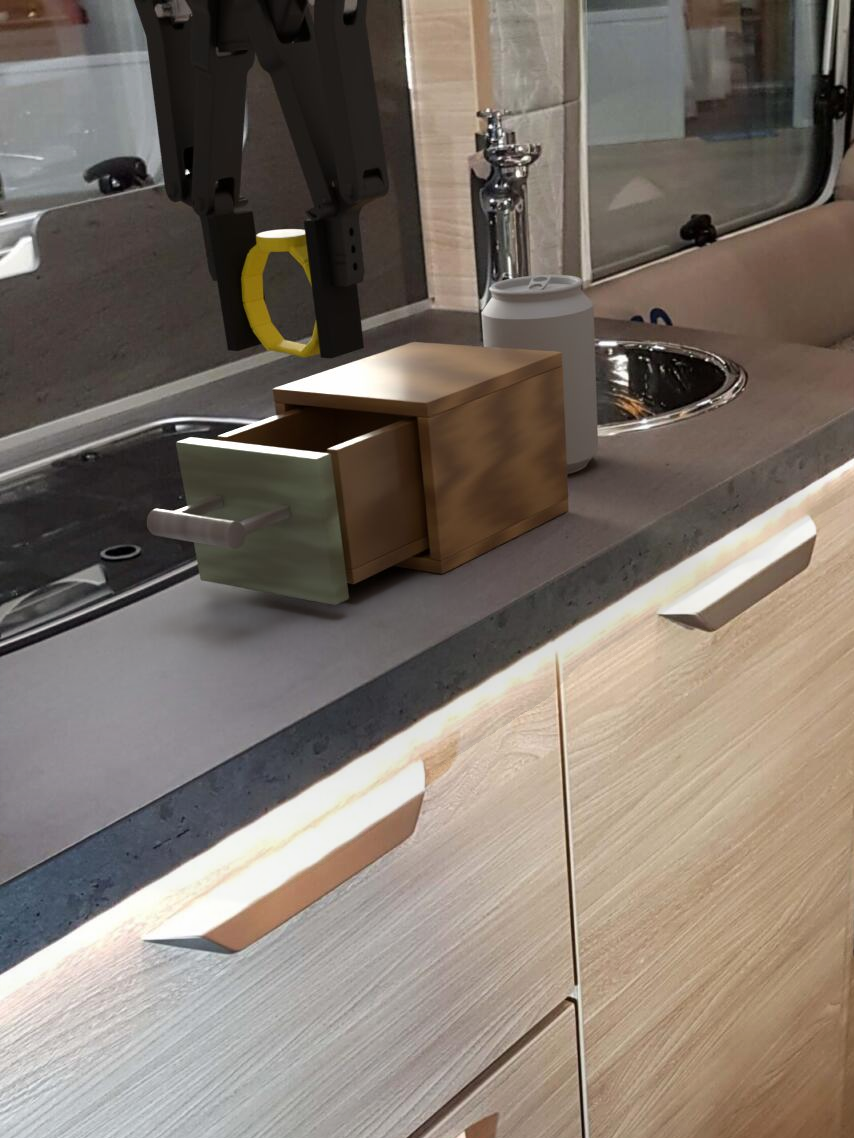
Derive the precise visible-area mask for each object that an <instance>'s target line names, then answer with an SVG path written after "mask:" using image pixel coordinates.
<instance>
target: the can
mask: <svg viewBox="0 0 854 1138" xmlns="http://www.w3.org/2000/svg"><path fill="white" fill-rule="evenodd" d="M582 285H584V280H583V279H582V278H580V276H579V277H578V276H574V275H567V274H541V275H528V276H527V275H526V276H520V277H512V278H508V279H504V280H499V281H497V282H494V283H492V284H491V285H490V286H489V289H488V290H489V291H490V293H491V297H490V299H489V301H488V302H487V303H486V305H485V307H484V308H483V309H482V310H481V325H482V340H483V342H482V343H483V347H495V348H510V349H525V350H540V351H555V352H562V366H563V387H564V410H565V433H566V456H567V475H570V474H573V473H576V472H577V473H578V472H579V471H582V470H583V469H585V468H586V467H587V465H588V463H589V462H590V461H591V460H592V459H594V457H595V456H596V455H597V453H598V451H599V431H598V430H599V429H598V403H597V401H598V400H597V399H598V398H597V373H596V371H597V370H596V342H595V341H596V340H595V311H594V309H595V308H594V307H595V306H594V303H593V301H592V300H591V299H590V298H589V297H588V296H587V295H586V294H585V292H584V291H583V290H582Z"/></svg>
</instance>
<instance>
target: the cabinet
mask: <svg viewBox="0 0 854 1138" xmlns="http://www.w3.org/2000/svg"><path fill="white" fill-rule="evenodd" d="M272 395H273V402H274V408H275V416H276V415H279V414H281V413H284V412H287V411H290V410H293V409H296V408H299V407H301V406H314V407H324V408H334V409H345V410H355V411H365V412H375V413H385V414H395V415H405V416H415V417H417V419H418V430H419V440H420V451H421V461H422V472H423V482H424V493H425V504H426V514H427V525H428V535H429V546H430V548H429V549H426V550H424V551H422V552H420V553H418V554H416V555H414V556H412V557H410V558H408V559H406V560H404V561H401V562H399V563H397V564H395V565H393V566H392V567H397V568H403V569H408V570H414V571H422V572H426V573H433V574H440V575H443V574H446V573H447V572H449V571H451V570H453V569H455V568H457V567H459V566H461V565H463V564H465V563H467V562H469V561H471V560H473V559H475V558H477V557H480V556H481V555H483V554H485V553H487V552H490V551H491V550H493V549H496V548H497V547H499V546H501V545H503V544H505V543H507V542H509V541H511V540H513V539H515V538H517V537H519V536H521V535H523V534H525V533H527V532H529V531H531V530H533V529H535V528H537V527H539V526H541V525H543V524H545V523H547V522H549V521H551V520H553V519H555V518H557V517H559V516H561V515H563V514H565V513H567V512H569V511H570V508H569V483H568V482H569V481H568V479H569V478H568V474H567V456H566V433H565V410H564V387H563V366H562V352H555V351H540V350H525V349H510V348H495V347H484V346H481V345H480V346H477V345H467V344H466V345H465V344H464V345H463V344H447V343H437V342H435V343H433V342H418V341H412V342H409V343H406V344H403V345H400V346H397V347H394V348H390V349H388V350H384V351H381V352H379V353H376V354H373V355H369V356H367V357H363V358H361V359H358V360H354V361H352V362H349V363H346V364H342V365H340V366H337V367H333V368H330V369H328V370H325V371H322V372H319V373H315V374H313V375H310V376H307V377H303V378H300V379H298V380H297V379H296V380H294V381H292V382H289V383H286V384H283V385H280V386H276V387H274V388H272Z"/></svg>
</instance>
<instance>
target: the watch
mask: <svg viewBox="0 0 854 1138" xmlns="http://www.w3.org/2000/svg"><path fill="white" fill-rule="evenodd" d="M256 242H257V244H256V245H255V246H254V247H253V248H252V249H251V250H249V253H248V254H247V257H246V261H245V264H244V267H243V270H242V276H241V283H242V301H243V302H244V303H243V306H244V309H245V312H246V315H247V317H248V320H249V323H250V326H251V328H252V329H253V332H254V333H255V335H256V336H257V337H258V339H259V340H260V342H261V343H262V344H261V345H262V346H263V347H264V348H265V350H266V351H268V352H269V351H272V352H276V353H279V354H280V353H283V354H287V355H291V356H296V357H299V358H300V357H301V358H303V359H304V358H305V359H306V358H309V357H313V356H317V355H320V348H319V340H318V332H317V324H316V321H315V323H314V326H313V327H314V328H313V331H312V336H311V338H310V340H309V341H308V342H307V344H304V343H300V342H296V341H292V340H287V339H285V338H284V337H283V336H282V334H281V333H280V332H279V330H278V329H277V327H276V326H275V325H274V324H273V322H272V320H271V316H270V313H269V311H268V307H267V303H266V304H265V302H266V300H265V301H264V299H263V288H264V280H263V277H264V275H263V274H264V270H265V267H266V264H267V261H268V258H269V255H270V254H271V253H282V252H283V253H284V252H288V253H289V254H290V255H291V256H292V257H293V258H294V259H295V260H296V261H297V262H298V263H299V265H301V266H302V268H303V270H304V272H305V274H306V277H307V279H308V282H309V284H310V287H312V284H311V276H310V268H309V260H308V252H307V244H306V236H305V229H301V228H299V229H297V228H285V229H272V230H266V231H262V232H258V233H256Z"/></svg>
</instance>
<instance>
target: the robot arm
mask: <svg viewBox="0 0 854 1138" xmlns="http://www.w3.org/2000/svg"><path fill="white" fill-rule="evenodd" d="M133 2H134V4H135V9H136V11H137V14H138V17H139V20H140V23H141V27H142V28H143V32H144V35H145V39H146V46H147V54H148V62H149V70H150V76H151V77H150V79H151V87H152V95H153V96H152V97H153V104H154V110H155V111H154V112H155V119H156V127H157V135H158V143H159V151H160V159H161V168H162V176H163V182H164V183H163V185H164V190H165V194H166V196H167V198H168V199H169V200H170V201H171V202H173V203H179V202H181V203H183V204H185V205H187V206H189V207H191V208H192V210H193V211H194V213H195V214H196V215H197V216H198V218H199V219H200V223H201V224H200V225H201V230H202V236H203V244H204V250H205V257H206V264H207V269H208V272H209V275H210V277H211V279H212V281H213V282H216V284H217V289H218V296H219V301H220V309H221V315H222V322H223V328H224V334H225V341H226V347H227V351H230V352H231V351H232V352H240V351H243V350H247V349H250V348H254V347H256V346H257V347H258V346H260V345H263V344H262V343H261V342H260V340H259V339H258V337H257V336H256V335H255V333H254V332H253V329H252V328H251V326H250V323H249V320H248V317H247V315H246V312H245V309H244V306H243V303H244V302H243V301H242V283H241V276H242V270H243V267H244V264H245V261H246V257H247V254H248V253H249V250H251V249H252V248H253V247H254V246H255V245H256V244H257V242H256V235H257V232H256V225H255V218H254V211H253V210H240V209H243V208H246V207H247V206H248V204H249V200H250V199H249V198H246V196H243V195H241V181H242V180H241V179H242V166H243V165H242V164H243V150H244V149H243V147H244V134H245V132H244V131H245V117H246V101H247V84H248V82H247V81H248V73H249V71H250V70H251V69H252V67H253V66H254V64H255V60H256V58H257V61H258V63H259V66H260V68H261V69H262V70H264V71H265V72H266V73H268V75H269V76H270V78H271V82H272V85H273V87H274V90H275V93H276V96H277V99H278V102H279V105H280V108H281V112H282V114H283V117H284V121H285V123H286V127H287V129H288V133H289V136H290V139H291V141H292V145H293V147H294V150H295V153H296V156H297V159H298V162H299V165H300V168H301V171H302V174H303V177H304V180H305V183H306V186H307V189H308V192H309V195H310V198H311V201H312V204H313V207H312V208H309V209H308V210H305V211H304V212H305V214H306V216H307V217H308V219H304V220H303V227H304V230H305V236H306V244H307V252H308V260H309V268H310V276H311V284H312V286H311V291H312V298H313V307H314V314H315V315H314V316H315V322H316V324H317V332H318V340H319V348H320V354H319V356H320V358H322V359H334V358H338V357H341V356H344V355H347V354H349V353H353V352H356V351H359V350H362V349H364V348H365V346H364V345H365V343H364V335H363V325H362V319H361V318H362V317H361V307H360V300H359V291H358V290H359V289H358V284H360V283H364V278H365V273H366V272H365V261H364V253H363V244H362V243H363V242H362V235H361V225H360V214H361V211H362V209H363V208H364V207H365V206H366V205H368V204H370V203H372V202H373V201H375V200H377V199H380V198H384V197H386V196H387V195H388V193H389V190H390V179H389V172H388V165H387V158H386V151H385V145H384V138H383V131H382V124H381V117H380V109H379V102H378V97H377V90H376V88H377V87H376V82H375V75H374V68H373V61H372V53H371V48H370V41H369V33H368V27H367V26H368V25H367V10H368V0H133ZM310 7H313V15H312V13H311V10H310ZM186 170H187V171H188V173H186ZM235 210H240V211H237V212H235ZM311 284H310V285H311ZM263 299H264V301H265V304H266V305H267V303H266V295H265V288H264V287H263Z"/></svg>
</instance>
